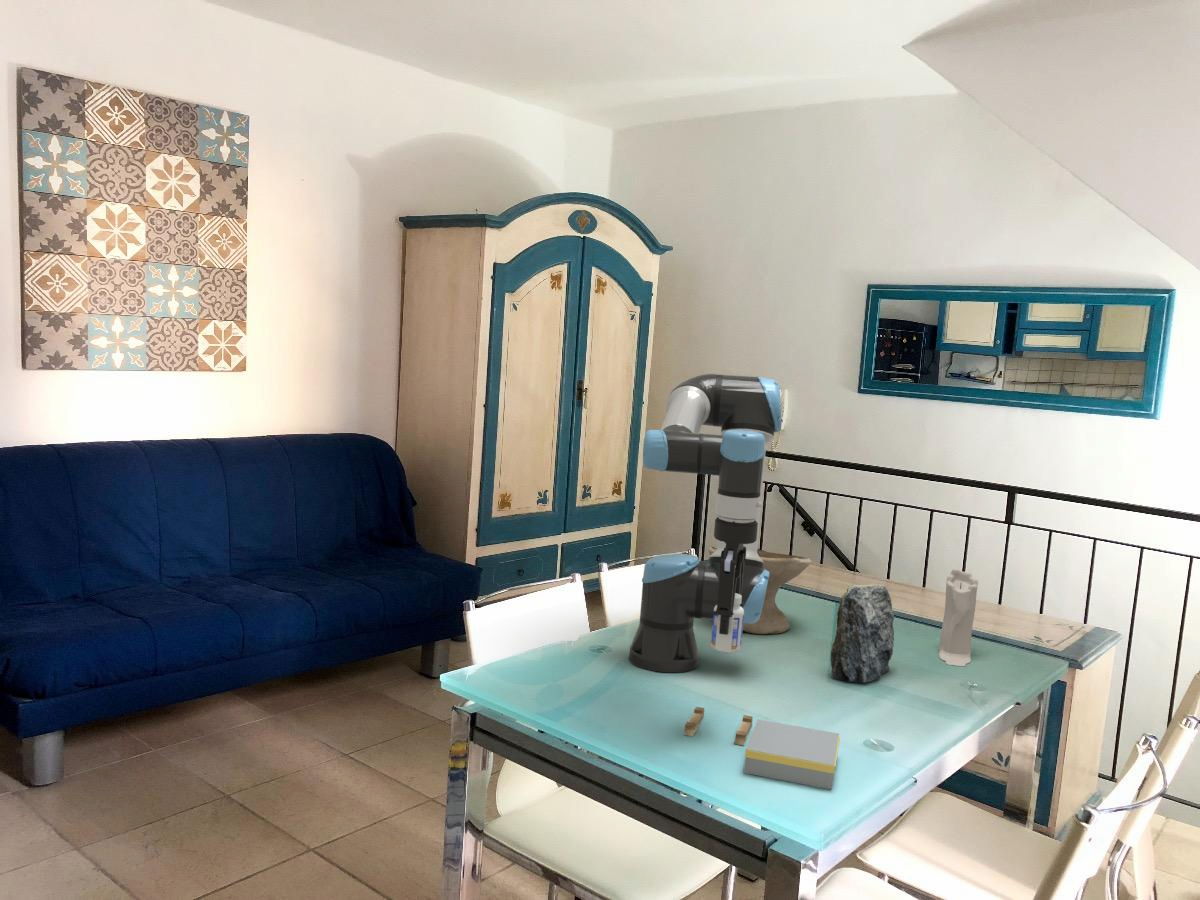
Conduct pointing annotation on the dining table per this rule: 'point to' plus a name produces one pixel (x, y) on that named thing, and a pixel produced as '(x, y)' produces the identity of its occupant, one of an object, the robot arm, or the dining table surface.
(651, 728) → the dining table surface
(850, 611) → the stone block
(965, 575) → the candle
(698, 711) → the wooden rail rack
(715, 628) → the pill bottle
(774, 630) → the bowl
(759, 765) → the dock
